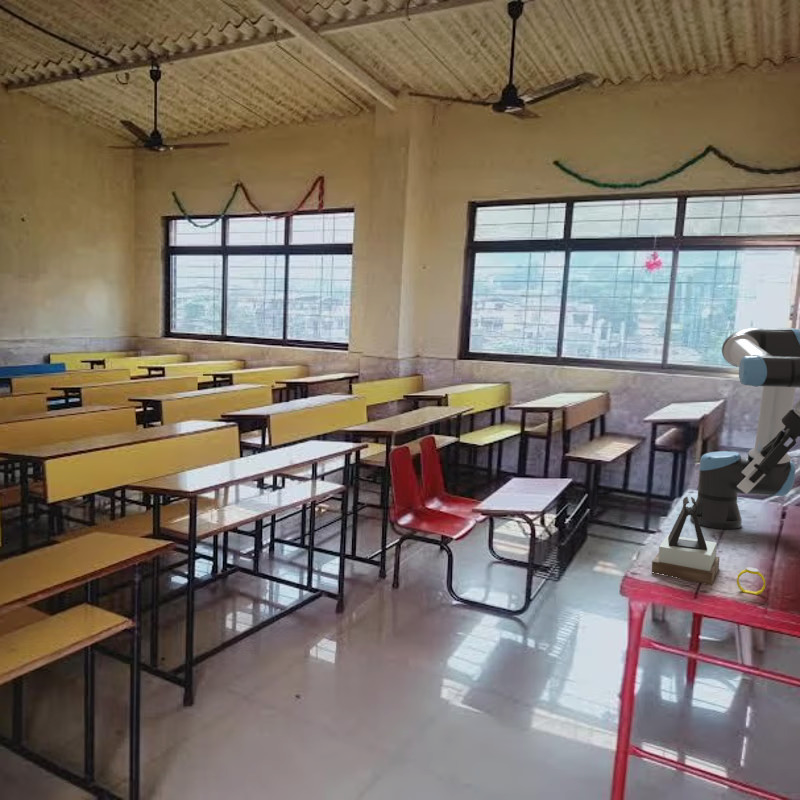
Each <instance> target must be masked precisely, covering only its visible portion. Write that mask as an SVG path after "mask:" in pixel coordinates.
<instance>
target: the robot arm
mask: <svg viewBox="0 0 800 800" xmlns="http://www.w3.org/2000/svg"><path fill="white" fill-rule="evenodd" d="M721 353H722V356H723V358H724V360H725V361H726V362H727V364H729V365H731V366H733V367H737V368H738V378H739V382H740V384H741V385H743V386H749V387H751V386H752V387H762V392H761V400H760V408H759V415H758V420H757V421H758V423H757V429H756V438H755V442H754V443H755V444H754V447H753V448H752V449H750V450H749V451H748V454H747V457H742V455H741V454H740V452H738V451H725V450H723V451H720V450H719V451H710V452H706V453H704V454H702V455H701V457H700V458H699V459H700V461H699V467H698V471H699V474H698V485H697V497H696V500H695V502H696V505H697V510H696V515H697V518H698V521H699V524H700V526H703V527H706V528H712V529H720V530H736V529H739V528H741V527H742V515H741V512H740V509H739V505H738V494H743V495H757V496H767V497H785V496H787V495H788V494H789V493H790V492H791V490H792V489H793V486H794V483H795V478H796V465H795V463H794V461H793V460H791V456H790V455H789V454H788V452H789V451H790V450H791V449H792V448H793V447H794V446H795V445H796V444H797V438H798V437H800V399H799V400H798V401H797V402H796V403H794V401H795V400H794V399H795V395H796V389H797V388H800V328H793V327H786V328H785V327H782V328H781V327H779V328H777V327H775V328H774V327H773V328H772V327H771V328H770V327H769V328H768V327H763V328H762V327H761V328H759V327H751V328H750V327H749V328H744V329H740V330H739V331H735V332H733V333H732V334H731V335H729V336H728V337H727V338H726V339H725V340H724V342H723V343H722V347H721ZM793 408H794V409H793ZM689 517H690V518H689V520H690V521H691V522H692V523H694V521H693V517H692V516H691V515H689Z"/></svg>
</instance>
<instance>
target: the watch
mask: <svg viewBox="0 0 800 800" xmlns="http://www.w3.org/2000/svg"><path fill="white" fill-rule="evenodd" d="M745 573H748V574H752V575H758V576H759V577H760V578H761V580H762V581H763V586H762V587H761V589H759V590H757V591H752V590H750V589H749V590H748V589H744V587H742V586H741V584H740V577H742V575H744V574H745ZM736 584H737V587H738V589H739V590H740V591H741V592H742V593H745V594H751V595H756V596H758V595H760V594H762V593H763V592H764V590H765V589H766V579H765V576H764V575H763V574H762V573H761V572H760V570H759V569H758V568H755V567H750V566H749V567H746V568H745V569H743V570H741V571H740V572H739V573H738V574H737V578H736Z"/></svg>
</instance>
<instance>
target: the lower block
mask: <svg viewBox="0 0 800 800" xmlns="http://www.w3.org/2000/svg"><path fill="white" fill-rule="evenodd" d="M651 562H652V563H651V573H652V572H654V573H659V574H664V575H668V576H667V577H669V576H673V577H677V578H676V579H678V578H680V579H679V580H682V581H690V582H692V583H693V582H694V583H699V584H705V585H709V586H712V584H713V583H714V580H715V578H716V575H717V574H718V571H719V569H720V568H719V567H720V556H717V555H716V558H715V560H714V563H713V565H712V567H711V570H710V571H706V570H700V569H695V568H690V567H684V566H679V565H674V564H668V563H663V562H659V552H658V553H657V555H656V556H655V557H654V558H653V560H652V561H651ZM654 573H653V574H654ZM659 574H658V575H659ZM664 575H663V576H664ZM673 577H672V578H673Z"/></svg>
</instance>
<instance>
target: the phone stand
mask: <svg viewBox="0 0 800 800" xmlns="http://www.w3.org/2000/svg"><path fill="white" fill-rule="evenodd" d="M690 499H691V503H692V506H687V505H688V504H690V501H689V497H688V496H685V497H684V498H683V500H682V509H681V511H680V512H679V514H678V516H677V518H676V520H675V522H674V524H673V526H672V529H671V530H670V533H669V534H668V535H669V537H668V541H669V546H675V547H683V548H687V547H688V548H692V549H700V550H707V546H706V543H705V541H706V540H705V536H704V533H703V530H702V527H701V525H700V524H699V521H698V518H697V515H696V510H697V505H696V500H695V498H694V497H692V496H691V497H690ZM689 516H692V517H693V521H694V522H693V524H694V530H695V534H696V535H695V536H696V538H697V541H692V540H684V539H679V537H681V535H682V532H683V528H684V525H685V523H686V521H687V518H688V517H689Z"/></svg>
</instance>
